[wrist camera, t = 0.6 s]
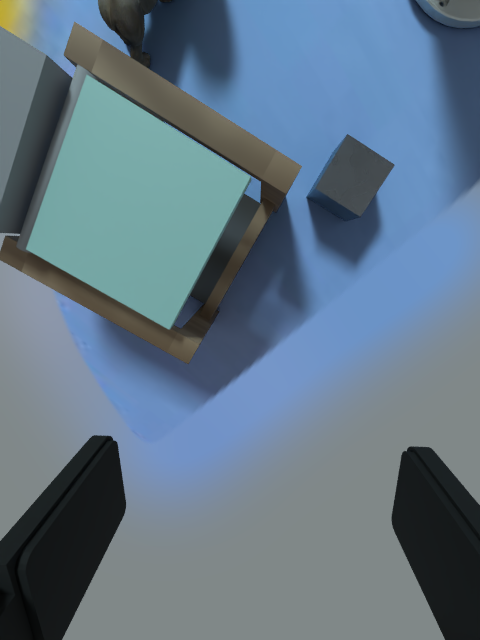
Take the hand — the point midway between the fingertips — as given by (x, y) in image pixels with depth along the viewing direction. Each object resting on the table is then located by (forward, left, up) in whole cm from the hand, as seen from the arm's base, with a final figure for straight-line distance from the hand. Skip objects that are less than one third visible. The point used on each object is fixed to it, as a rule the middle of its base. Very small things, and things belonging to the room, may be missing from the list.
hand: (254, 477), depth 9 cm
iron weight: (-16, +1, -26) cm, 30 cm away
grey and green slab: (-4, -16, -15) cm, 22 cm away
